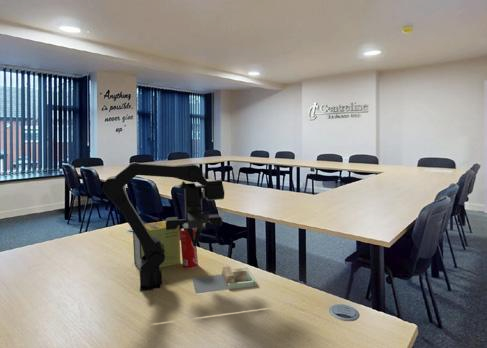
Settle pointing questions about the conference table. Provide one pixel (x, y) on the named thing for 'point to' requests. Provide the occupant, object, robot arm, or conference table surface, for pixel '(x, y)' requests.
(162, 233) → the protein box
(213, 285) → the platform with raised edges
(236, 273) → the t block
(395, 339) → the conference table surface
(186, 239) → the beverage can
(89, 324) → the conference table surface
